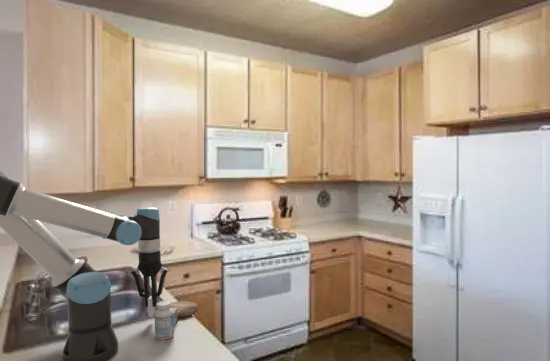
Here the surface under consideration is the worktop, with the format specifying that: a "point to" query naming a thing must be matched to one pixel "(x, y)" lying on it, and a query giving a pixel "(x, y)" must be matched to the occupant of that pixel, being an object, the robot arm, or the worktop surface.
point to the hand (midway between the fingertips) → (151, 315)
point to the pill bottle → (164, 320)
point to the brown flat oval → (183, 309)
